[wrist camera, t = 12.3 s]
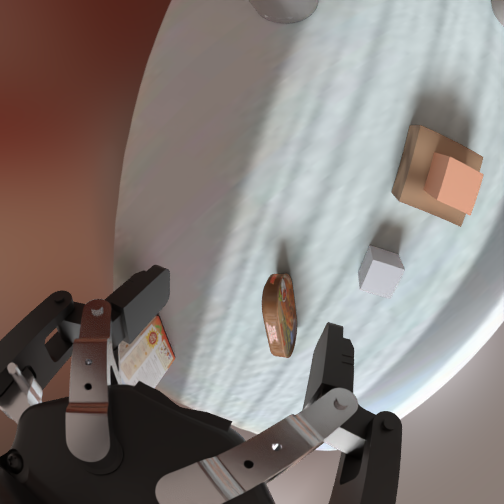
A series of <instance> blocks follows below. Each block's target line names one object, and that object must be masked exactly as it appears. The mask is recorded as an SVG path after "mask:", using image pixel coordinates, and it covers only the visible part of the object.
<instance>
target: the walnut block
mask: <svg viewBox="0 0 504 504" xmlns="http://www.w3.org/2000/svg"><path fill="white" fill-rule="evenodd" d="M434 152H435V153H439V154H443V155H446V156H449V157H452V158H454V159H456V160H458V161H460V162H462V163H463V164H465V165H467V166H469V167H471V168H473V169H475V170H476V171H478V172H480V168H481V164H482V160H483V157H482V156H481V155H479V154H477V153H475V152H474V151H472V150H470V149H468V148H467V147H465V146H463V145H461V144H459V143H457V142H455V141H453V140H451V139H449V138H447V137H445V136H443V135H441V134H439V133H437V132H435V131H433V130H431V129H428V128H426V127H424V126H422V125H410V126H409V130H408V135H407V139H406V143H405V147H404V151H403V154H402V158H401V162H400V165H399V169H398V172H397V176H396V179H395V182H394V186H393V189H392V192H391V193H392V194H393V195H394V196H395V197H396V198H397V199H398V201H400V202H402V203H405V204H408V205H410V206H413V207H415V208H418V209H420V210H423V211H425V212H428V213H430V214H433V215H435V216H437V217H440V218H442V219H444V220H447V221H449V222H451V223H454V224H456V225H458V226H460V227H461V225H462V223H463V220H464V217H465V215H466V213H464V212H462V211H460V210H458V209H456V208H453V207H451V206H449V205H447V204H445V203H442V202H440V201H438V200H436V199H435V198H433V197H432V196H431V195H430V194H428V193H427V192H426V191H424V186H425V183H426V180H427V177H428V173H429V170H430V166H431V163H432V159H433V155H434Z"/></svg>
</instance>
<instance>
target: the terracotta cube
mask: <svg viewBox="0 0 504 504" xmlns="http://www.w3.org/2000/svg"><path fill="white" fill-rule="evenodd" d="M482 179H483V174H482V173H480V172H478V171H476V170H475V169H473V168H471V167H469V166H467V165H465V164H463V163H462V162H460V161H458V160H456V159H454V158H452V157H449V156H446V155H443V154H439V153H435V152H434V155H433V159H432V163H431V166H430V170H429V173H428V177H427V180H426V183H425V186H424V191H426V192H427V193H428V194H430V195H431V196H432V197H433V198H435V199H436V200H438V201H440V202H442V203H445V204H447V205H449V206H451V207H453V208H456V209H458V210H460V211H462V212H464V213H466V214H468V215H471V212H472V210H473V207H474V204H475V201H476V198H477V195H478V192H479V189H480V185H481V182H482Z"/></svg>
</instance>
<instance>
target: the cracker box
mask: <svg viewBox="0 0 504 504" xmlns="http://www.w3.org/2000/svg"><path fill="white" fill-rule="evenodd" d="M119 346H120V367H121V379H122V384H128V385H134V386H135V385H136V384H137V382H138V381H141V382H143V383H145V384H147V385H148V386H150V387H152V388H155V387H156V385H157V384H158V383H159V381H160V380H161V378H162V377H163V375H164V374H165V373H166V371H167V370H168V368H169V367H170V365H171V364H172V362H173V361H174V360H175V356H174V354H173V352H172V349H171V347H170V344H169V342H168V339H167V337H166V334H165V331H164V329H163V326H162V324H161V321H160V318H159V316H155V317H154V318H153V319H152V320H151V321H150V323H149V324H148V325H147V326H146V327H145V328H144V329H143V330H142V332H141V333H140V334H139V335H138V336H137V337H136V338H135V339H134V341H133V342H132V343H131V344H128V343H126V342H124V341H122V342H121V343H120V344H119Z"/></svg>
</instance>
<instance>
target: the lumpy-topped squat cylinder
mask: <svg viewBox="0 0 504 504" xmlns="http://www.w3.org/2000/svg"><path fill="white" fill-rule="evenodd" d="M491 3H492V9H493V12H494V14H495V16H496V18H497V19H498V21H499V22H500V23H501V24H502V25H503V26H504V0H491Z"/></svg>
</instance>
